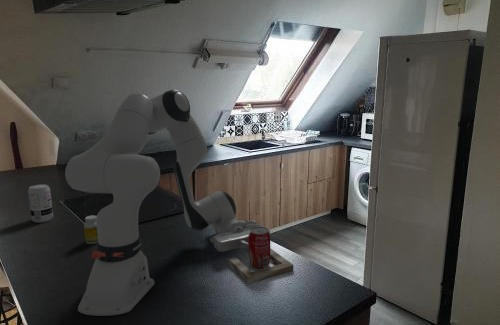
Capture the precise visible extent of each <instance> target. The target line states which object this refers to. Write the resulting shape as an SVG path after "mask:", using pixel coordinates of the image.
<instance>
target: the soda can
mask: <svg viewBox="0 0 500 325" xmlns="http://www.w3.org/2000/svg"><path fill="white" fill-rule="evenodd" d="M264 227H265V226H264ZM264 227H254V228H252V229H251V230H250V231H251V232H250V233H249V238H248V249H247V250H248V252H247V253H248V264H249V266H250V267H251V268H254V269H257V270H260V269H264V268H268V266H270V263H271V260H270V249H271V233H270V234H269V232H268V228H267V227H266V228H264Z"/></svg>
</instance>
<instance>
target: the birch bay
mask: <svg viewBox="0 0 500 325" xmlns="http://www.w3.org/2000/svg"><path fill="white" fill-rule="evenodd" d="M270 262H272V263H273V264H274V265H271V266H269V267H268V266H267V267H265V268H262V269H257V270H254V271H252V270H251V269H249V268H248V267H247V266H246V265H245V264H244V263H243V262H242V261H241V260H239V258H237V257H231V258H228V265H229V266H230V267H231V268H232V269H233V270H234V271H235V272H236V273H237V274H238V275H239V276H240V278H242V279H243V280H244V281H245V282H246V283H247V284H248V285H249V284H252V283H256V282H260V281H263V280H267V279H270V278H273V277H277V276H280V275H284V274H287V273H290V272H294V264H293V263H292V262H290V261H289V260H287V259H286V258H285V257H283V256H282V255H281V254H279V253H278V252H276V251H275V250H274V249H272V248H270Z"/></svg>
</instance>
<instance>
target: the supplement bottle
mask: <svg viewBox="0 0 500 325" xmlns="http://www.w3.org/2000/svg"><path fill="white" fill-rule="evenodd" d="M96 217H97V215H87V216H86V217H85V218H84V221H85V222H84V224H83V231H84V241H85V243H86V244H88V245H95V244H97V241H98V236H97V226H96Z"/></svg>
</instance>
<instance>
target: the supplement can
mask: <svg viewBox="0 0 500 325" xmlns="http://www.w3.org/2000/svg"><path fill="white" fill-rule="evenodd" d="M51 194H52V193H51V188H50V186H49V185H48V184H46V183H45V184H44V183H42V184H34V185H31V186H29V187H28V190H27V196H28V202H29V209H30V210H29V211H30V218H31V221H32V222H34V223H38V224H39V223H46V222H49V221H51V220H52V219H53V218H54V211H53V204H52V196H51Z"/></svg>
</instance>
